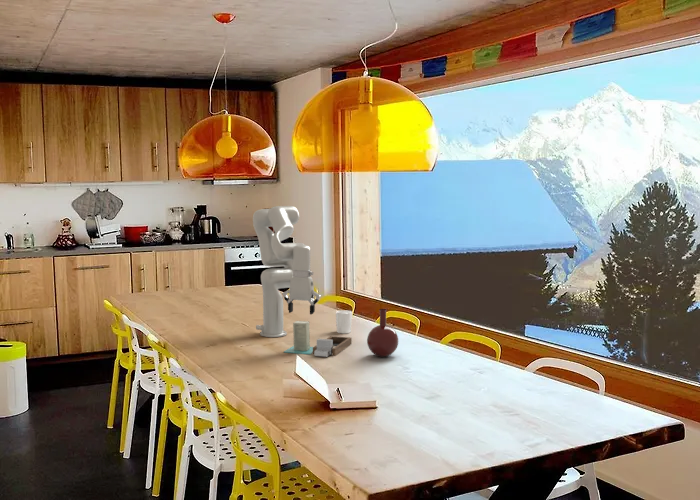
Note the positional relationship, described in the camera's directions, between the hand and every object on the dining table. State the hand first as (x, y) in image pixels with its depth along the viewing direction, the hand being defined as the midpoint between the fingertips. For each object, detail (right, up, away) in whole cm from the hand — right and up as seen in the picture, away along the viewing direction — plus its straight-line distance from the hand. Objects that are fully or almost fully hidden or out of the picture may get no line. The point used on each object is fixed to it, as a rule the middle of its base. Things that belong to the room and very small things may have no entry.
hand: (301, 313), depth 325 cm
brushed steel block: (+10, -17, -8) cm, 21 cm away
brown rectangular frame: (+13, -16, +3) cm, 21 cm away
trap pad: (+16, -15, +11) cm, 25 cm away
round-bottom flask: (+35, -18, -8) cm, 40 cm away
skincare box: (0, -16, +1) cm, 16 cm away
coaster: (0, -16, +1) cm, 16 cm away
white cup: (+18, -13, +38) cm, 44 cm away
